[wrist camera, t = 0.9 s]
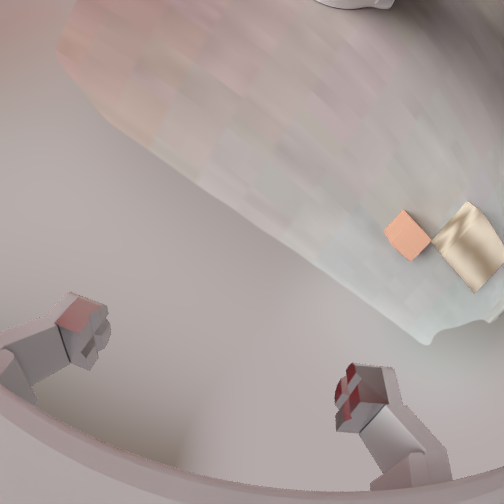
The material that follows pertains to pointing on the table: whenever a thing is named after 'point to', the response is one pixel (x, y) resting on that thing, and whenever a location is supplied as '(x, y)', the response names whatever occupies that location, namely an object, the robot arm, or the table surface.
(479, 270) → the birch block
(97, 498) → the robot arm
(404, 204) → the table surface
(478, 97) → the table surface
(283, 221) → the table surface
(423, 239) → the terracotta cube
